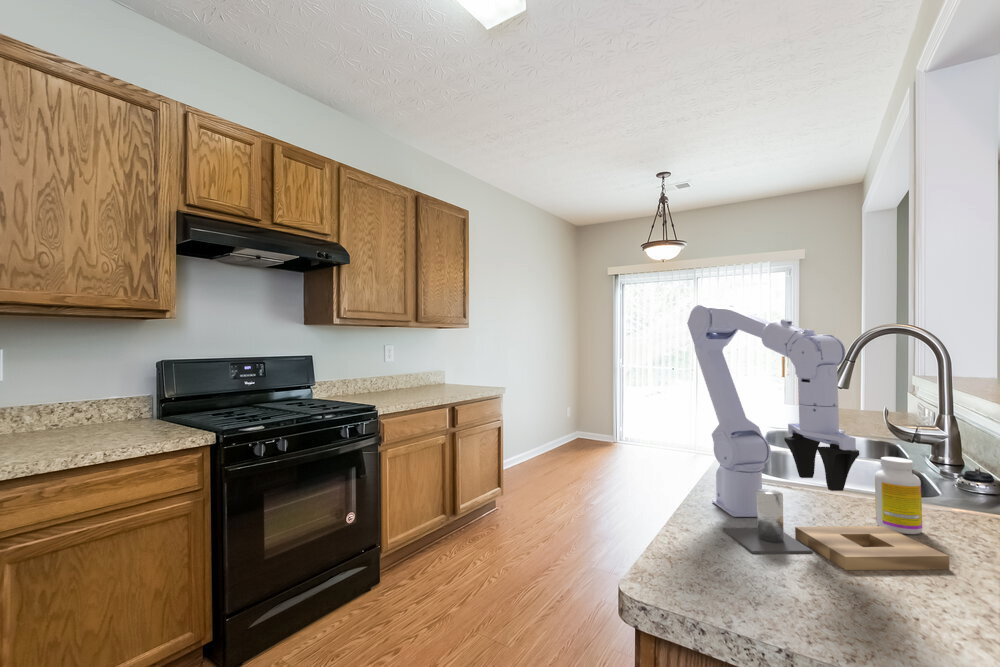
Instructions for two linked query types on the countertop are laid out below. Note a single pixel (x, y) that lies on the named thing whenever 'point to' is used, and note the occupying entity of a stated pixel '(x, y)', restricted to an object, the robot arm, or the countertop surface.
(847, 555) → the holder
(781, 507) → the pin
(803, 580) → the countertop surface
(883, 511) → the supplement bottle
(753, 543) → the mat
